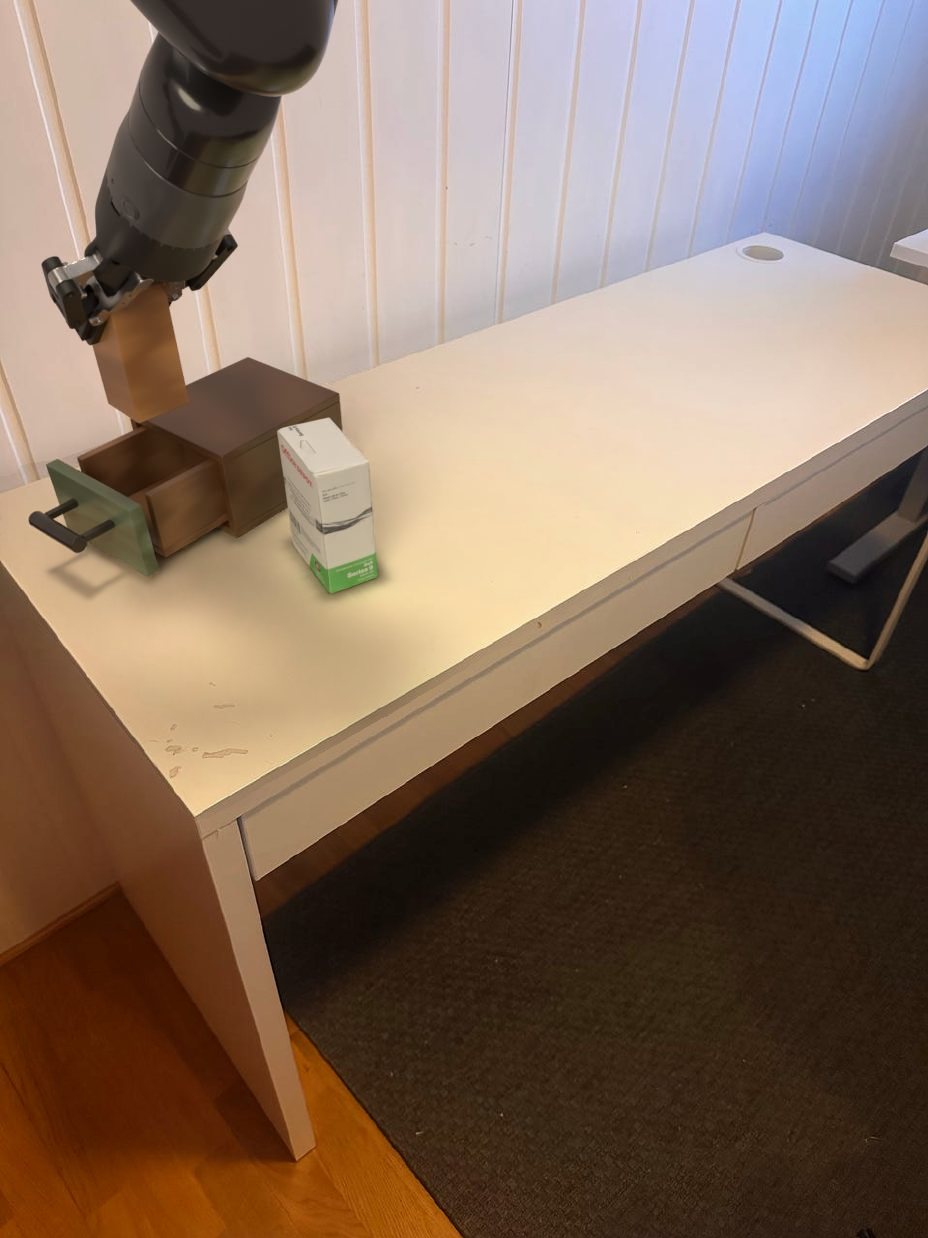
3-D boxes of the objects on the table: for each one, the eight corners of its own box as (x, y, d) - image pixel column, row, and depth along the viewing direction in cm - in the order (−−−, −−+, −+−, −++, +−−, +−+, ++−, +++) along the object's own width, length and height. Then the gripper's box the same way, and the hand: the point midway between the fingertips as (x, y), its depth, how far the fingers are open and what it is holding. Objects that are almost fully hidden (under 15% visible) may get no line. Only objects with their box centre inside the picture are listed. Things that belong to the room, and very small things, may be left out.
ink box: (381, 578, 77) (373, 460, 70) (327, 596, 75) (313, 476, 68) (340, 527, 83) (329, 412, 75) (290, 543, 81) (273, 426, 73)
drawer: (106, 603, 73) (84, 535, 69) (25, 551, 78) (0, 485, 74) (265, 506, 84) (255, 443, 79) (185, 466, 89) (171, 404, 84)
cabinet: (237, 538, 81) (221, 456, 76) (148, 491, 87) (127, 411, 81) (346, 471, 90) (339, 392, 85) (259, 432, 96) (247, 356, 90)
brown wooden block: (138, 423, 69) (105, 295, 62) (107, 403, 71) (73, 277, 65) (189, 403, 71) (163, 278, 65) (158, 385, 74) (130, 262, 67)
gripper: (237, 112, 58) (172, 256, 72) (25, 153, 50) (-2, 305, 64) (298, 217, 59) (221, 339, 73) (99, 274, 51) (56, 397, 65)
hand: (117, 322), depth 68 cm, fingers closed on brown wooden block, 4 cm apart
